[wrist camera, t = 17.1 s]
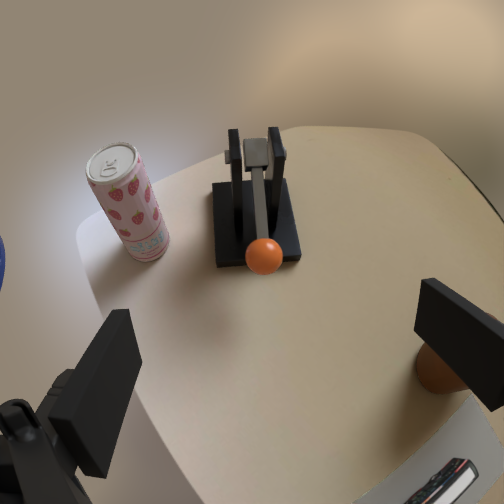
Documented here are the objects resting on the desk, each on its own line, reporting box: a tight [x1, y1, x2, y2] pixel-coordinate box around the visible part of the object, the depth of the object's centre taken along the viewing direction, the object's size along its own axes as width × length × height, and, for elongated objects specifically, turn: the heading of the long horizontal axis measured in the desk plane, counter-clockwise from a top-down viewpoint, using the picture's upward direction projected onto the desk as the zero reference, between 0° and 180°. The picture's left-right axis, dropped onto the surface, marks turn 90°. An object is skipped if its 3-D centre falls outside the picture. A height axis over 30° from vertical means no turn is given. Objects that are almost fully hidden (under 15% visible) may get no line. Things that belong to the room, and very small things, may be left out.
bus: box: [351, 393, 504, 504], centre depth 22 cm, size 14×25×4 cm, turn 122°
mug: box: [417, 313, 497, 394], centre depth 28 cm, size 12×8×9 cm, turn 89°
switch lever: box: [243, 138, 283, 275], centre depth 31 cm, size 13×4×4 cm, turn 6°
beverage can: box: [86, 142, 170, 262], centre depth 33 cm, size 6×6×15 cm
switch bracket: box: [212, 127, 302, 268], centre depth 35 cm, size 12×10×14 cm
